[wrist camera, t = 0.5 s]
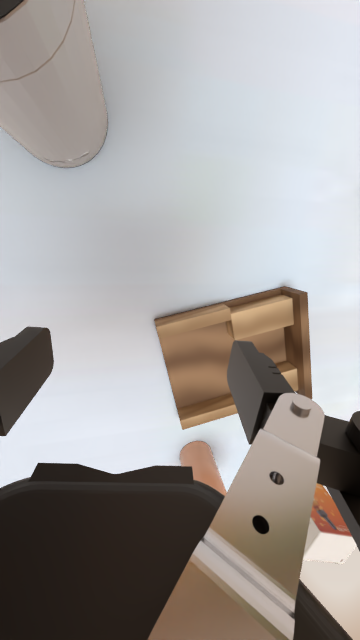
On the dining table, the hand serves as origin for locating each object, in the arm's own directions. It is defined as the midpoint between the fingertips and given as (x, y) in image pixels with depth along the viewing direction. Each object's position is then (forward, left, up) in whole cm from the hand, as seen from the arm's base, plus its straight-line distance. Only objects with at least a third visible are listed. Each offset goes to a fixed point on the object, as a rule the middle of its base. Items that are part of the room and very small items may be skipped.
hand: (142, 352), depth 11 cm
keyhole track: (+12, +10, -20) cm, 26 cm away
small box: (+40, +17, -20) cm, 48 cm away
